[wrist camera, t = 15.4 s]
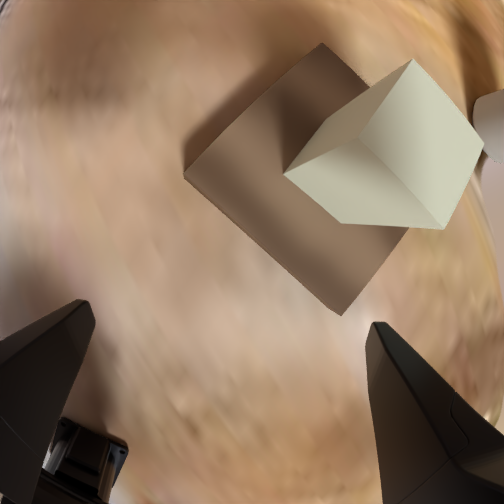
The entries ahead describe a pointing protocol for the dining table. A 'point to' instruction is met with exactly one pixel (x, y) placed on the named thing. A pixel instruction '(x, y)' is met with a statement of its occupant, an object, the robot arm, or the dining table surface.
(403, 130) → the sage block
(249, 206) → the brown flat square slab
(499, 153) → the can
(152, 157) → the dining table surface
